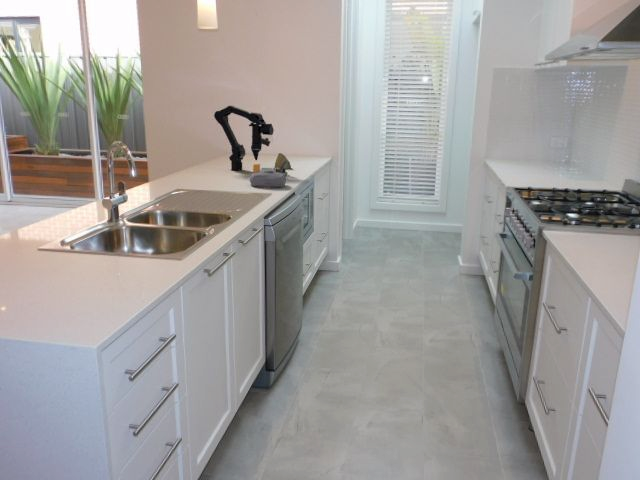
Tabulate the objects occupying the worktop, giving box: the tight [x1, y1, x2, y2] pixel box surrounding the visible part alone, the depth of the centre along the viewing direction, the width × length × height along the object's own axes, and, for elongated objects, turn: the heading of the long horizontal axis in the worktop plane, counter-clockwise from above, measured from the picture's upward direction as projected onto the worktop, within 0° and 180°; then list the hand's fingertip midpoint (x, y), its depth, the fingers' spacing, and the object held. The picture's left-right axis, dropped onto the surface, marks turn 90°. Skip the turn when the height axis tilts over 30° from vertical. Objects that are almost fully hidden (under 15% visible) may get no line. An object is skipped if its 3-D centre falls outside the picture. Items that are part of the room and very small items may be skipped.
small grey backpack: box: [249, 171, 287, 189], centre depth 306 cm, size 15×8×20 cm
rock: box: [273, 152, 292, 170], centre depth 368 cm, size 11×9×10 cm
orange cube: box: [252, 162, 261, 173], centre depth 352 cm, size 4×4×5 cm
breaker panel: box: [260, 167, 287, 177], centre depth 347 cm, size 16×17×4 cm
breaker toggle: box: [279, 159, 289, 171], centre depth 341 cm, size 2×3×8 cm
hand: (256, 159), depth 351 cm, fingers open, 9 cm apart
